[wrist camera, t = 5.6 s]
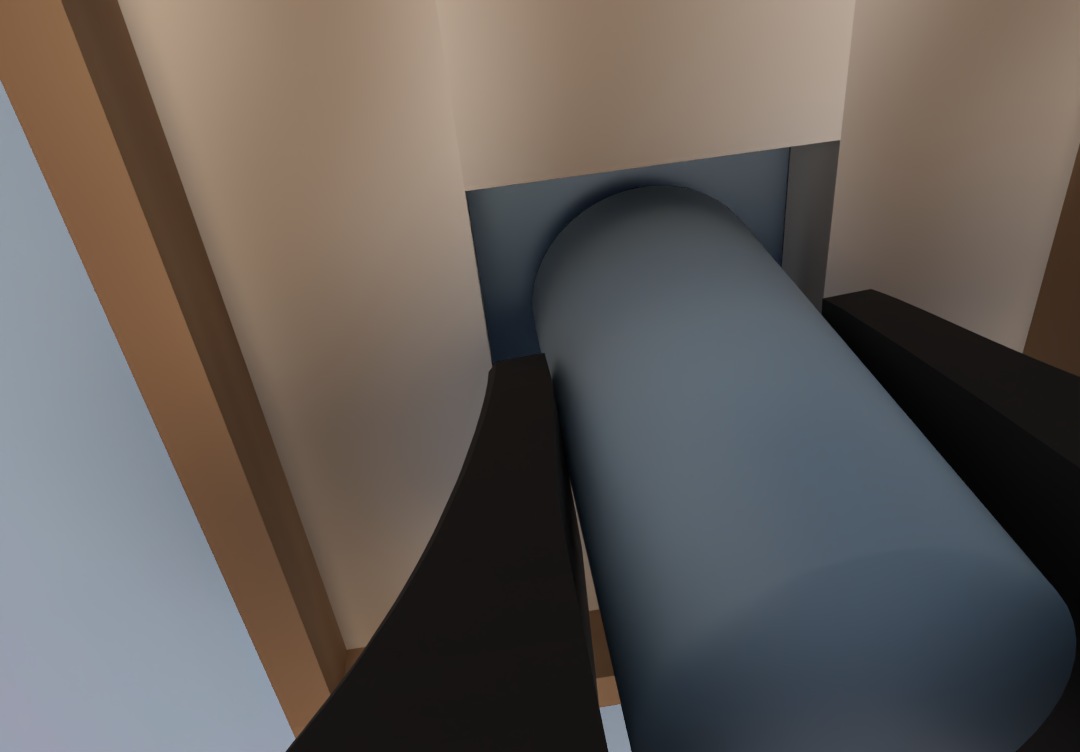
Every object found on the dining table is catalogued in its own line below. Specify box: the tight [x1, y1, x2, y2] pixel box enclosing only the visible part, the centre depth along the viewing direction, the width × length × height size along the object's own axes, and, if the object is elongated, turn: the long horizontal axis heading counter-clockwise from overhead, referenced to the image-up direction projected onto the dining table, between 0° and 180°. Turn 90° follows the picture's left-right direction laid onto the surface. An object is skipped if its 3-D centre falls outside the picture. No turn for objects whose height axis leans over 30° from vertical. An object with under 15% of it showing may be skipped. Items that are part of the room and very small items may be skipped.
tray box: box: [0, 0, 1080, 738], centre depth 12 cm, size 13×13×3 cm
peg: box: [532, 186, 1076, 752], centre depth 9 cm, size 3×3×7 cm
